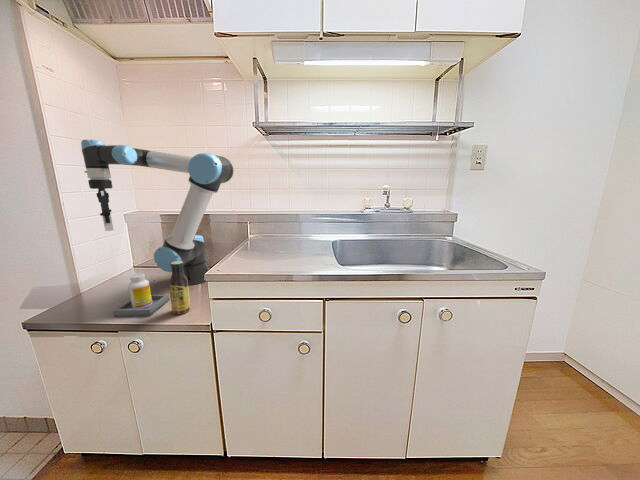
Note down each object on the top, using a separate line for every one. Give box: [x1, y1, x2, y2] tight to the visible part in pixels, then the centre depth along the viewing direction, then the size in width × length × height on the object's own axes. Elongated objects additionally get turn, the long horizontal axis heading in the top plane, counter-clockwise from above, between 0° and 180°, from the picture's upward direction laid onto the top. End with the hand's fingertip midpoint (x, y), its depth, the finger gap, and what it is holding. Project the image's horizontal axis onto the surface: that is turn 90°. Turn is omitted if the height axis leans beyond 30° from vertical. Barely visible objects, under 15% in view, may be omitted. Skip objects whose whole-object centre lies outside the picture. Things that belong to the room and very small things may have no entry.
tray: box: [112, 293, 171, 318], centre depth 100 cm, size 13×13×2 cm
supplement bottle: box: [128, 273, 152, 309], centre depth 99 cm, size 7×7×13 cm
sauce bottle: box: [168, 261, 191, 315], centre depth 96 cm, size 7×6×20 cm
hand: (109, 228), depth 112 cm, fingers open, 13 cm apart
